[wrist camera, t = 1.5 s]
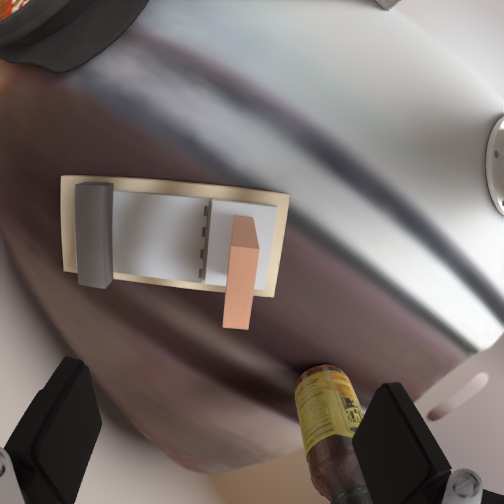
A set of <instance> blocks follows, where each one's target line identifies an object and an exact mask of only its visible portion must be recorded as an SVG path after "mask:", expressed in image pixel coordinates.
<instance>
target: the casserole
mask: <svg viewBox="0 0 504 504" xmlns="http://www.w3.org/2000/svg"><path fill="white" fill-rule="evenodd" d="M148 1H149V0H0V58H1V59H2V60H5V61H7V62H9V63H21V64H34V65H37V66H39V67H42V68H44V69H47V70H50V71H52V72H55V73H62V72H68V71H71V70H73V69H75V68H77V67H79V66H81V65H83V64H85V63H87V62H88V61H89V60H91V59H92V58H94V57H95V56H97V55H98V54H100V53H101V52H102V51H104V50H105V49H106V48H107V47H108V46H109V45H111V44H112V43H113V42H114V41H115V40H117V39H118V38H119V37H120V36H121V35H122V34H123V33H124V31H125V30H126V29H127V28H128V27H129V26H130V25H131V24H132V23H133V22H134V21H135V19H136V18H137V17H138V16H139V14H140V13H141V12H142V10H143V9H144V8H145V6H146V4H147V3H148Z"/></svg>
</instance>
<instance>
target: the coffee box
mask: <svg viewBox="0 0 504 504" xmlns="http://www.w3.org/2000/svg"><path fill="white" fill-rule="evenodd" d="M375 1H376V2H378V3H379V4H380V5H381V6H382V7H383V8H384V9H386V10H387V11H388V10H390V9H391V8H392V7H394V6H395V5H396V4H397V3H398V2H399V1H401V0H375Z"/></svg>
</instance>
